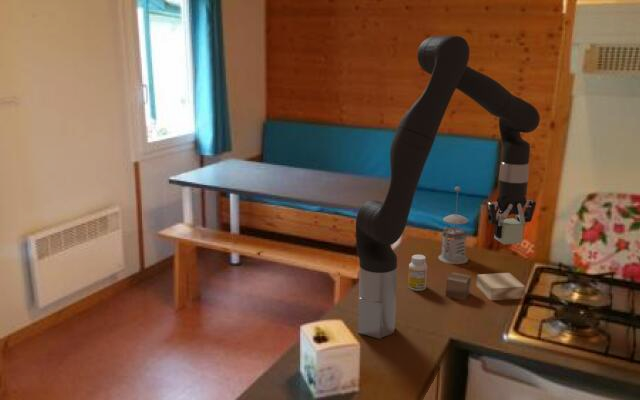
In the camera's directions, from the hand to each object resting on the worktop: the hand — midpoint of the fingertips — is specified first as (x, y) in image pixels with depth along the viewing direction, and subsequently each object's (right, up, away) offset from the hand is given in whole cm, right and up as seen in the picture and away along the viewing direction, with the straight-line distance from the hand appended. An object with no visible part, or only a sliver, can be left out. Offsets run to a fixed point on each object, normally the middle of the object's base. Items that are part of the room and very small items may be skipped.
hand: (508, 236), depth 160 cm
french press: (-9, -10, +31) cm, 34 cm away
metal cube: (-13, -17, +4) cm, 22 cm away
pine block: (-1, -17, +6) cm, 18 cm away
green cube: (0, -1, 0) cm, 1 cm away
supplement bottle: (-24, -16, +9) cm, 30 cm away
